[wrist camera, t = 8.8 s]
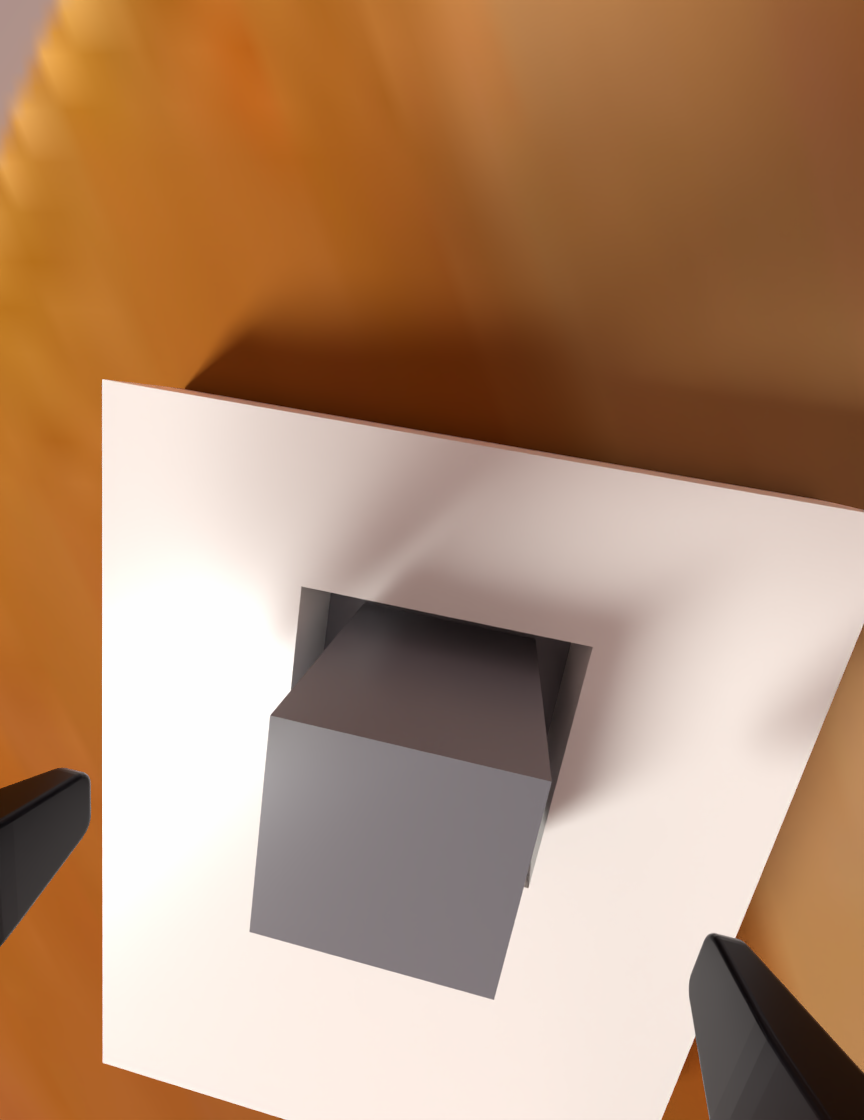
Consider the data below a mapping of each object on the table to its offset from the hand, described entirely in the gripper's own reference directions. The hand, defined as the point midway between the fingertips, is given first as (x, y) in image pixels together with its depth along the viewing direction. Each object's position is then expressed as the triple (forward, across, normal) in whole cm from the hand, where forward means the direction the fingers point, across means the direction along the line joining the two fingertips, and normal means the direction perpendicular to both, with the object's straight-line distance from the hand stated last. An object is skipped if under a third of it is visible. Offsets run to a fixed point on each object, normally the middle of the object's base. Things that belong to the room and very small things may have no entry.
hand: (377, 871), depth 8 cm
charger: (+5, 0, 0) cm, 5 cm away
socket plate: (+6, 0, +3) cm, 7 cm away
